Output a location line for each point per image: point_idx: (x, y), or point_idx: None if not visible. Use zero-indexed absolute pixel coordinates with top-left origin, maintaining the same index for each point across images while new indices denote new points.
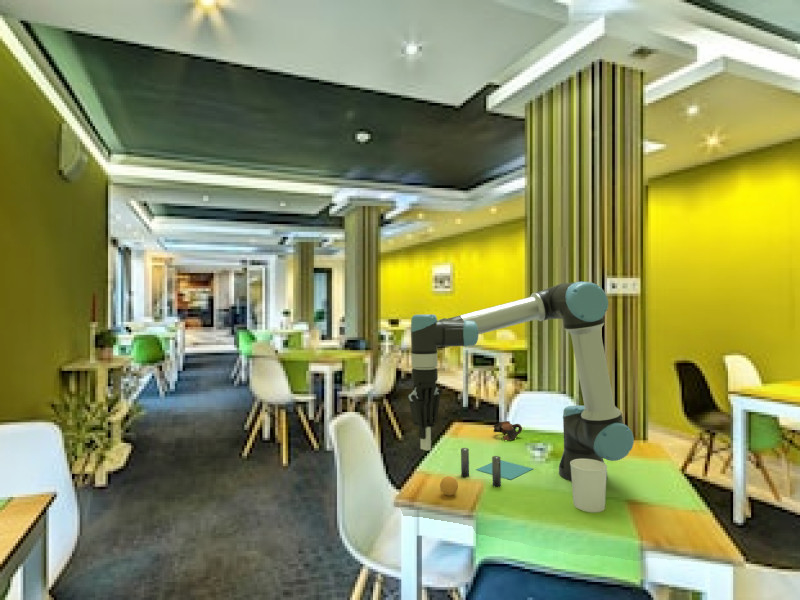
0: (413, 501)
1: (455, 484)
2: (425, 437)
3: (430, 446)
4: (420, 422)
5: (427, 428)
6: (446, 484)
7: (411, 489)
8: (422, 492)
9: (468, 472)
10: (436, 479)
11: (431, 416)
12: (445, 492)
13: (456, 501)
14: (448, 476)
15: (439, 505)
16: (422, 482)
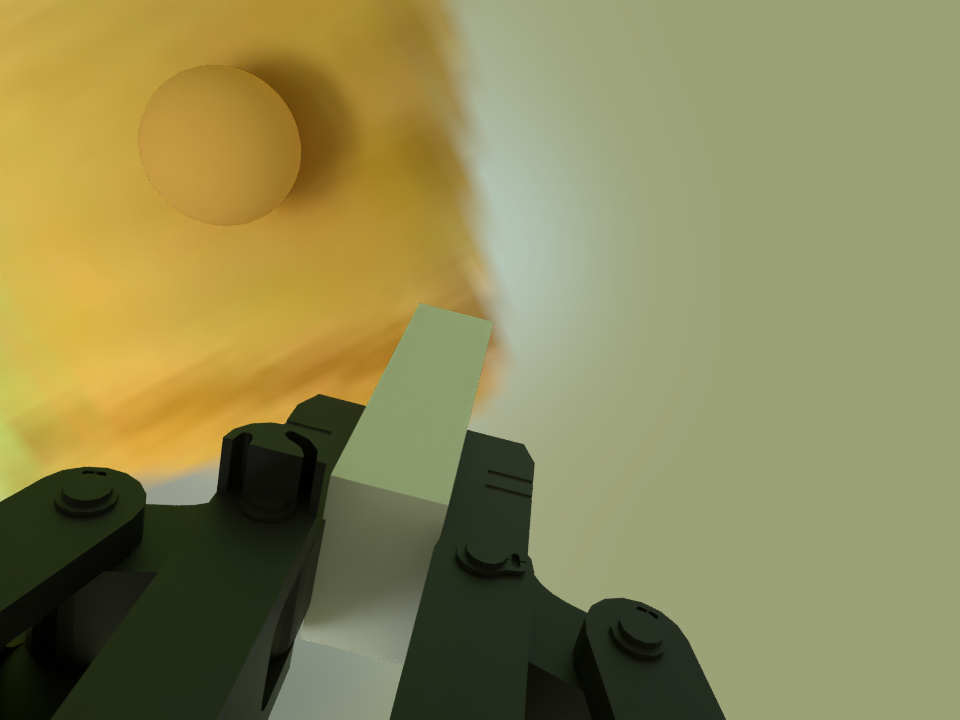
0: (491, 315)
1: (215, 76)
2: (468, 439)
3: (421, 321)
4: (667, 693)
5: (439, 494)
6: (274, 142)
7: None
8: (323, 331)
9: None
10: (68, 350)
11: (177, 638)
12: (300, 141)
13: (319, 26)
14: (180, 168)
15: (455, 114)
16: (176, 409)
